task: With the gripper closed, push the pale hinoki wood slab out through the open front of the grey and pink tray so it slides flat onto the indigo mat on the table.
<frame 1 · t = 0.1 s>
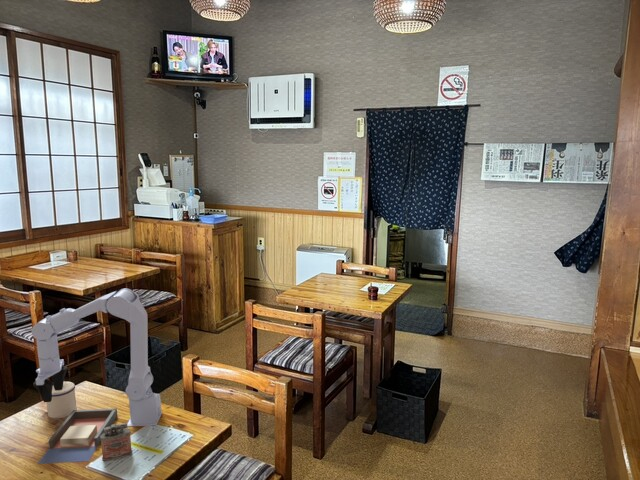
hand: (53, 395, 153), 10 cm above the table, tool pointing down, fingers open, 7 cm apart
lighter: (117, 457, 138), on the table
slab: (79, 439, 146), resting on grey and pink tray
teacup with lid: (59, 412, 162), on the table
indigo mat: (68, 456, 138), on the table
grey and pink tray: (82, 436, 148), on the table
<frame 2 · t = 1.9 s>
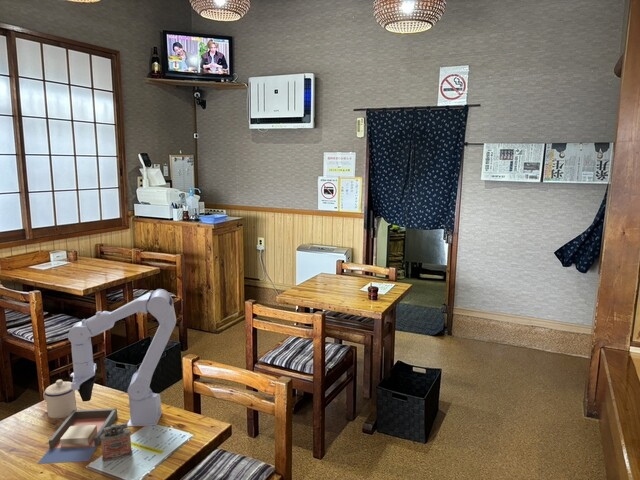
hand: (86, 400, 152), 9 cm above the table, tool pointing down, fingers closed
nothing on the table moved.
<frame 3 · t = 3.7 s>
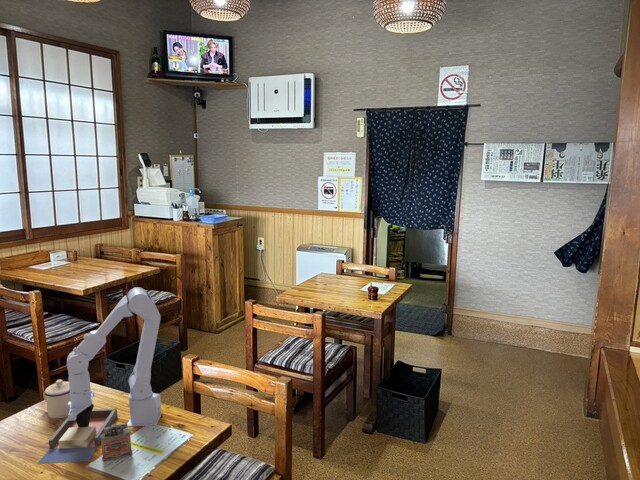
hand: (84, 429, 149), 1 cm above the table, tool pointing down, fingers closed
nothing on the table moved.
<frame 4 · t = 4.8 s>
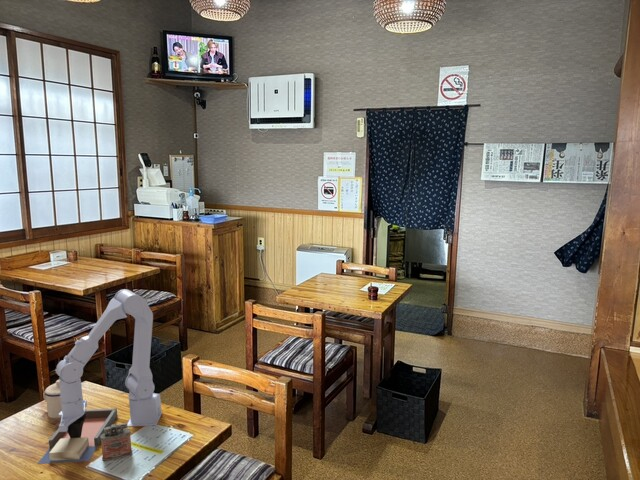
hand: (76, 440, 143), 1 cm above the table, tool pointing down, fingers closed
slab: (69, 452, 139), resting on indigo mat, touching gripper
everything else where it was.
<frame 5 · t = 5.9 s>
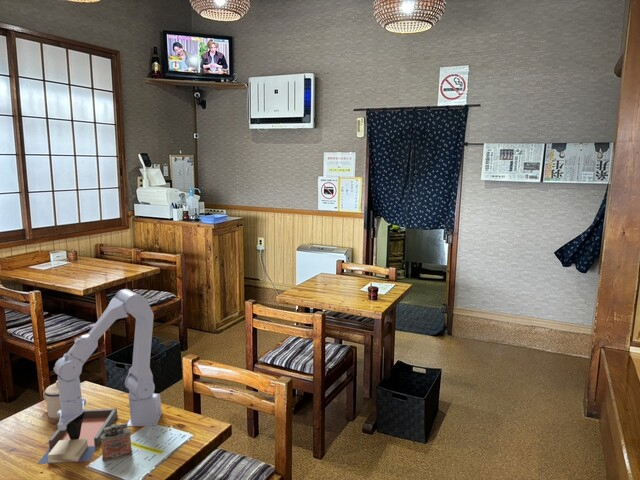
hand: (75, 438, 143), 2 cm above the table, tool pointing down, fingers closed
slab: (68, 454, 138), resting on indigo mat
everything else where it was.
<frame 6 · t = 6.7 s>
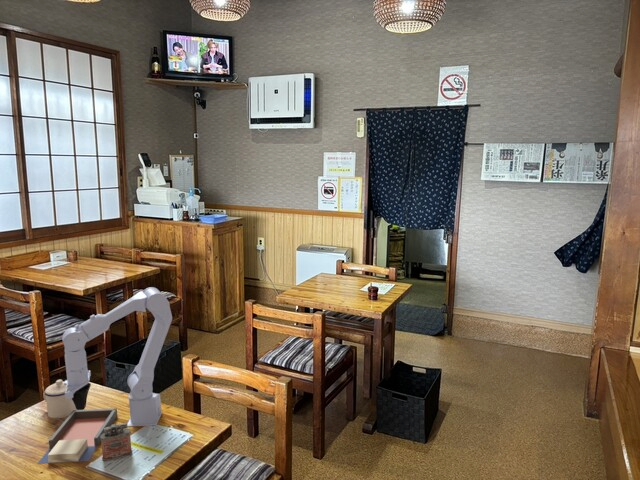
hand: (81, 408, 146), 9 cm above the table, tool pointing down, fingers closed
nothing on the table moved.
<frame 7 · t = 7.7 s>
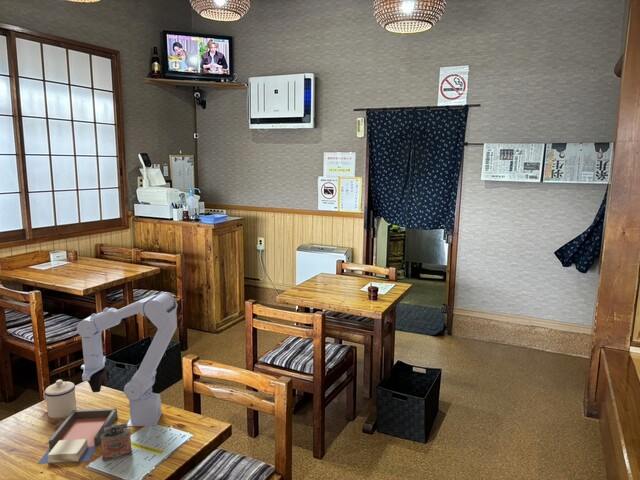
hand: (96, 391, 157), 9 cm above the table, tool pointing down, fingers closed
nothing on the table moved.
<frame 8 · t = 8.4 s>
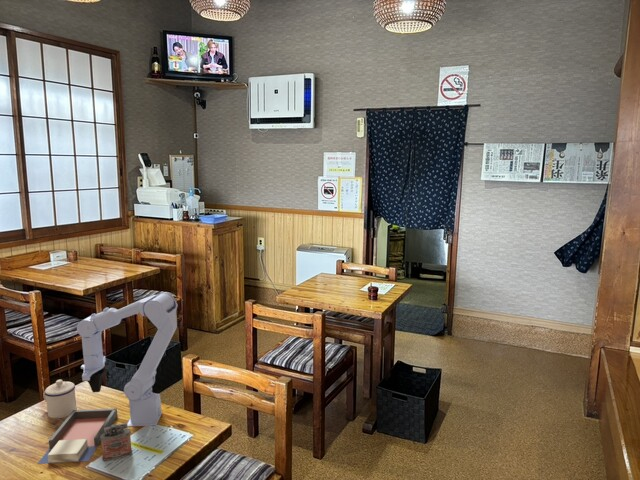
hand: (96, 391, 157), 9 cm above the table, tool pointing down, fingers closed
nothing on the table moved.
at the end: slab inside the target area (1.6 cm from its centre), resting on indigo mat; slab touching indigo mat; slab tilted 0° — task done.
